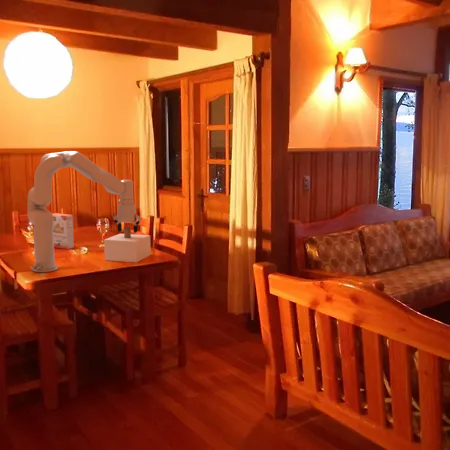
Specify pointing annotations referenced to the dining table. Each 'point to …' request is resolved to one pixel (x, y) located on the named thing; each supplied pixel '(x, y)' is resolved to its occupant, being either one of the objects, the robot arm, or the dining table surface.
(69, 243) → the cracker box
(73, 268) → the dining table surface
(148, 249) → the cover
